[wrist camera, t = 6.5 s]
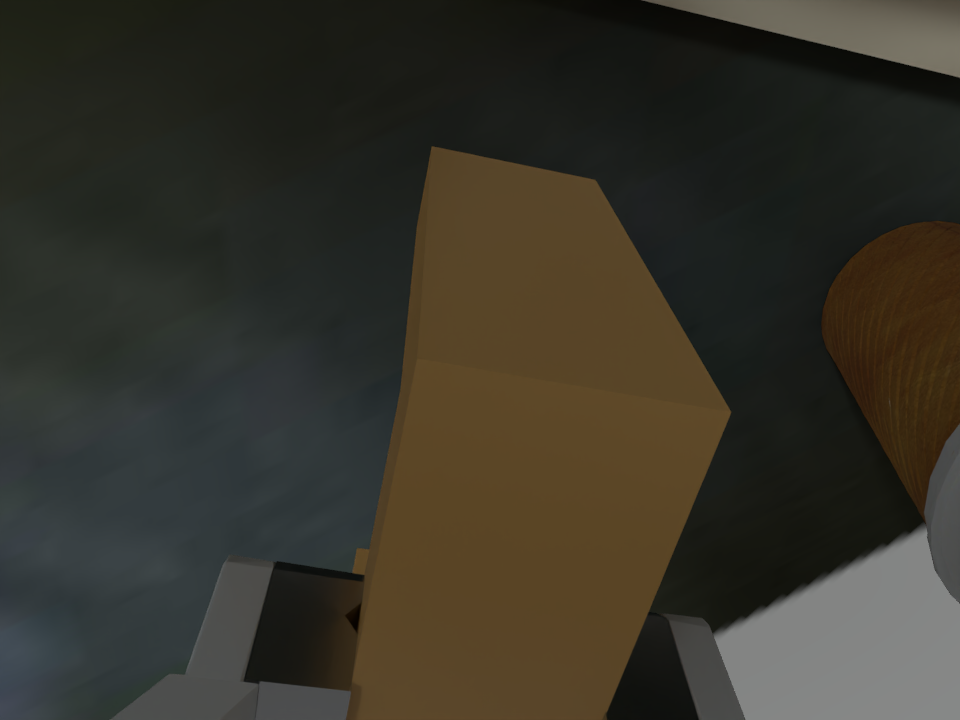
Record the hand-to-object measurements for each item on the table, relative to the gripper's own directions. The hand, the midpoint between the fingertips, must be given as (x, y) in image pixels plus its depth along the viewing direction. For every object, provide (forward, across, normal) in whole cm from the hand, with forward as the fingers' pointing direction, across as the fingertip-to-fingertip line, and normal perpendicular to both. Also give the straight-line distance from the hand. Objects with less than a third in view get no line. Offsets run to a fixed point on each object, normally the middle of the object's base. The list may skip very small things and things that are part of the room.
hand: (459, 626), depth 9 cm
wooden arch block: (+5, 0, 0) cm, 5 cm away
